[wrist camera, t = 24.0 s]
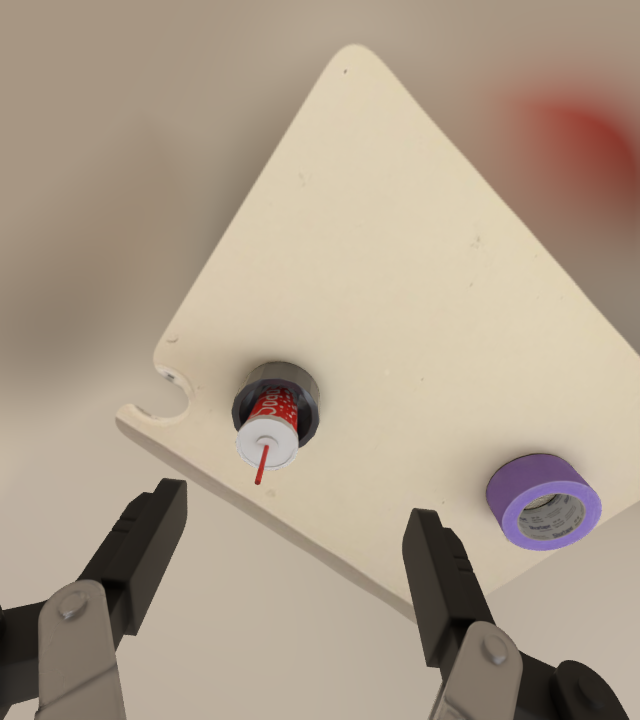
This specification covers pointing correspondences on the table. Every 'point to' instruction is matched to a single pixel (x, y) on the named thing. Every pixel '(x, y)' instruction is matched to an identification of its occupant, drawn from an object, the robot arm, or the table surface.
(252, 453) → the beverage cup
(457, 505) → the table surface
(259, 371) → the socket
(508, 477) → the tape roll
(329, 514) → the table surface
